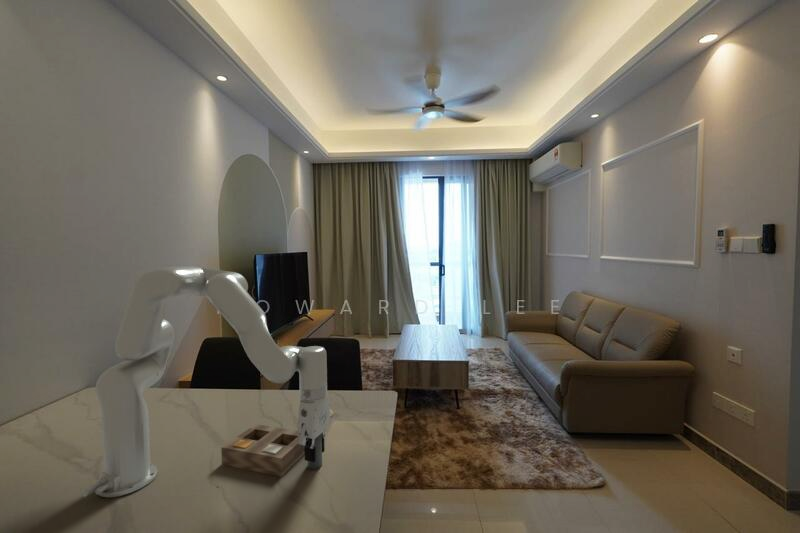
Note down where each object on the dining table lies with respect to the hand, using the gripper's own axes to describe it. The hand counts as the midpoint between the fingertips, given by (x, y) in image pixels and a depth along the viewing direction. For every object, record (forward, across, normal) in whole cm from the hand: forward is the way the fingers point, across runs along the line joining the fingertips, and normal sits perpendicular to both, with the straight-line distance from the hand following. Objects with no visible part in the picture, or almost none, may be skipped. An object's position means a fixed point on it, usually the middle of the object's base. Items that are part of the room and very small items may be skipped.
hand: (314, 455), depth 98 cm
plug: (+3, 0, 0) cm, 3 cm away
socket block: (+3, 0, +16) cm, 16 cm away
